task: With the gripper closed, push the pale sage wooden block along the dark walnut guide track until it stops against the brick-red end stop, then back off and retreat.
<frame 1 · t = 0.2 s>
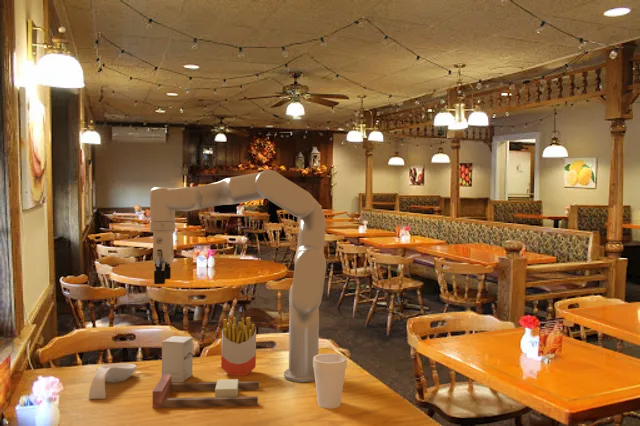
hand: (162, 281, 172), 31 cm above the table, tool pointing down, fingers open, 9 cm apart
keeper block: (226, 397, 158), resting in guide track
foam cup: (329, 404, 154), on the table
french fries container: (238, 373, 179), on the table
guide track: (212, 397, 158), on the table
spoon rest: (110, 386, 167), on the table
supplement box: (177, 379, 174), on the table
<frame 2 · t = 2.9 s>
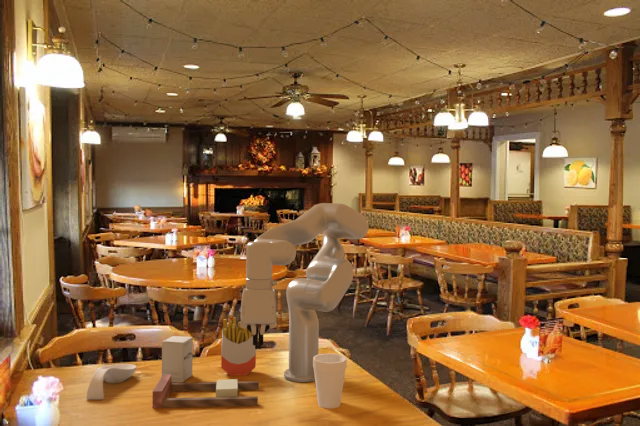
hand: (258, 347, 158), 14 cm above the table, tool pointing down, fingers closed
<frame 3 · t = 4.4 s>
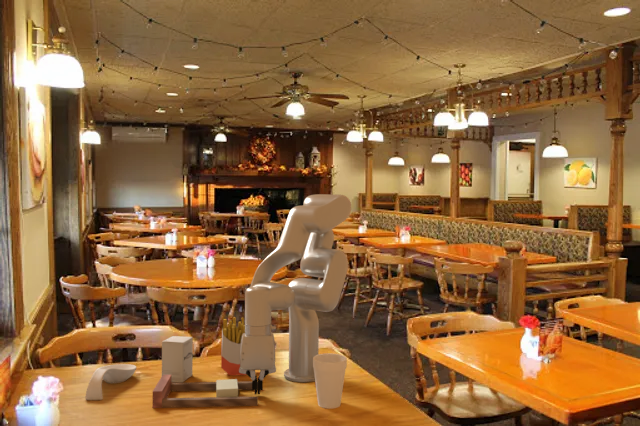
hand: (257, 392, 159), 1 cm above the table, tool pointing down, fingers closed
nothing on the table moved.
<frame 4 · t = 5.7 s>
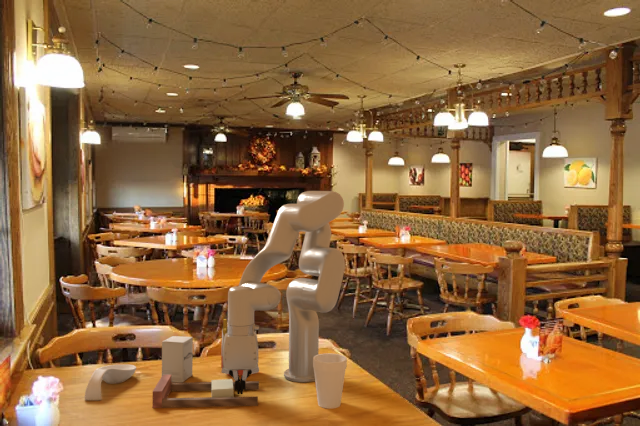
hand: (240, 392, 158), 1 cm above the table, tool pointing down, fingers closed
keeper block: (222, 397, 158), resting in guide track, touching gripper
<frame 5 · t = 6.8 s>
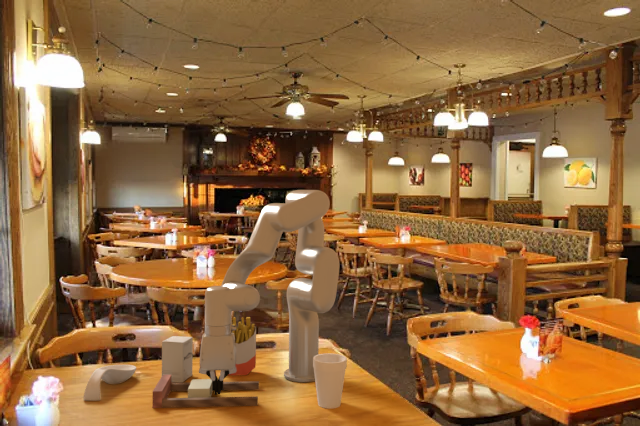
hand: (217, 393, 158), 1 cm above the table, tool pointing down, fingers closed
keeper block: (200, 397, 159), resting in guide track, touching gripper
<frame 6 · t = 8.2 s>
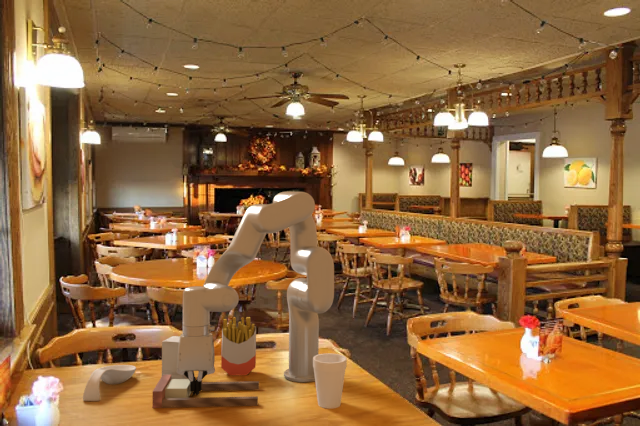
hand: (195, 393, 158), 1 cm above the table, tool pointing down, fingers closed
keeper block: (178, 397, 159), resting in guide track, touching gripper
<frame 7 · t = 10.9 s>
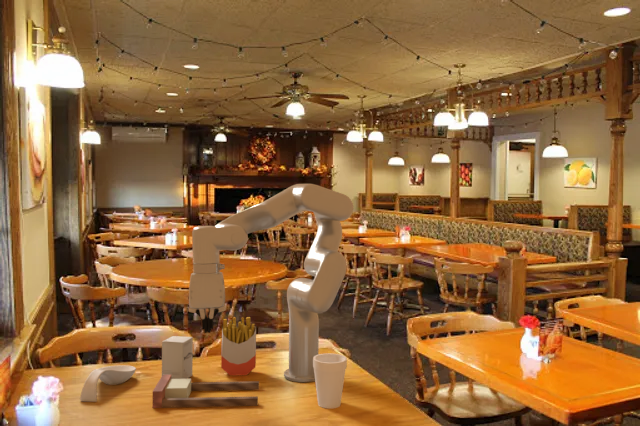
hand: (207, 331, 159), 19 cm above the table, tool pointing down, fingers closed
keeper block: (178, 397, 159), resting in guide track
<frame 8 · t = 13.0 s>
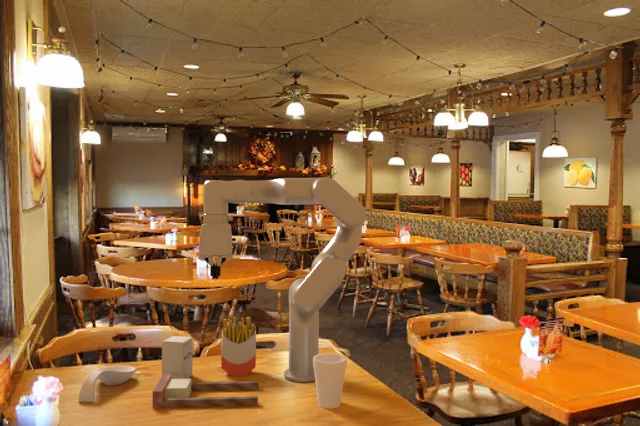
hand: (215, 278, 172), 32 cm above the table, tool pointing down, fingers closed
at the end: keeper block 1.6 cm from the target spot, resting in guide track; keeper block moved 14.0 cm from its start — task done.
